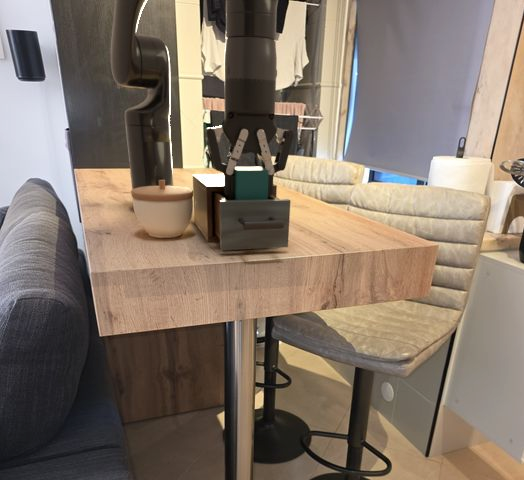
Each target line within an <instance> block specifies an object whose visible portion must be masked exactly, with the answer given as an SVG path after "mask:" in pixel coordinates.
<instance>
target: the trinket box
mask: <svg viewBox="0 0 524 480" xmlns="http://www.w3.org/2000/svg"><path fill="white" fill-rule="evenodd" d="M130 194H131V198H132V207H133V206H134V208H133V211H134V215H135V217H136V220H137V222H138V224H139V226H140V227H141V228H142V229H143V230H144V231H145V232H147V233H148V236H149V237H152V238H156V239H157V238H158V239H171V238H177V237H180V236H182V235H183V232H184V231H186V229H187V228H188V227H189V226H190V223H191V221H192V217H193V212H194V197H193V188H192V189H191V188H189V187H186V186H177V185H173V186H165V180H159V186H145V187H138V188H135V189H132V188H131V190H130Z"/></svg>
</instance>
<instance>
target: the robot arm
mask: <svg viewBox="0 0 524 480" xmlns="http://www.w3.org/2000/svg"><path fill="white" fill-rule="evenodd" d="M147 1H148V0H114V9H113V10H114V11H113V20H112V29H111V38H110V39H111V41H110V70H111V74H112V77H113V80H114V81H115V83H116V84H117V85H118V86H120V87H122V88H129V89H144V90H145V89H146V90H147V96H146V97H145V99H144V100H143V101H142V102H140V103H138V104H137V105H135V106H132V107H129V108H127V109H125V111H124V124H125V134H126V142H127V143H126V144H127V152H128V161H129V172H130V182H131V183H130V184H131V190H132V189H135V188H138V187H145V186H159V180H165V186H174V173H173V156H172V154H173V153H172V141H171V140H172V139H171V126H170V125H171V124H170V121H171V120H170V118H171V117H170V115H171V63H170V55H169V50H168V47H167V45H166V42H165V41H164V39H163V38H161V37H159V36H154V35H148V34H139V33H137V30H138V24H139V20H140V17H141V14H142V11H143V9H144V7H145V5H146V3H147ZM278 3H279V0H225V47H224V48H225V49H224V58H223V59H224V60H223V63H224V65H223V69H224V72H223V74H224V75H223V76H224V118H223V120H222V122H221V125H219V126H215V127H214V126H213V127H206V128H205V129H204V132H203V134H204V137H205V142H206V146H207V150H208V156H209V159H210V160H209V161H210V163H211V167H212V169H214V170H215V171H217V172H220V173H222V174H224V193H225V195H226V196H228V199H229V200H235V176H234V175H233V173H234V170H235V167H237V163H238V161H239V160H240V158H241V155H242V154H244V155H245V154H250V153H252V154H255V155H257V158H258V159H259V162H260V165H261V168H264V169H266V170H269V174H268V199H269V196H271V195H272V193H273V184H274V176H275V174H276V173H278V172H282V171H284V170H285V169H286V167H287V163H288V159H289V154H290V151H291V147H292V143H293V138H294V131H293V130H291V129H283V128H281V127H278V126H277V123H276V120H275V115H276V114H275V112H276V91H277V90H276V89H277V77H278V69H277V65H278V64H277V63H278V62H277V45H276V44H277V42H276V40H277V16H278V14H277V13H278V11H277V9H278ZM222 134H223V135H224V137H225V138H226V140H227V142H228V143H229V147H228V150H227V153H226V159H225V161H224V163H223V162H222V158H221V154H220V150H219V144H218V143H220V142H221V139H222V138H221V136H222ZM275 136H276V142H277V143H278V145H277V150H276V154H275V156H274V157H275V158H274V161H272V154H271V151H270V147H269V145H270V143H271V141H272V140H273V139H274V137H275ZM132 207H133V209H134V206H133V205H132Z"/></svg>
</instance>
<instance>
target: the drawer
mask: <svg viewBox="0 0 524 480" xmlns="http://www.w3.org/2000/svg"><path fill="white" fill-rule="evenodd" d="M290 215H291V200H290V199H289V198H279V197H278V196H276V197H275V196H273V195H271V196H269V199H265V200H229V199H228V196H226V195H225V193H224V192H212V227H213V231H214V233H215V234H216V235H217V236H218V238H219V239H220V241H219V249H220V250H221V251H233V250H235V251H236V250H252V249H253V250H254V249H275V248H277V249H279V248H288V247H289V236H290V234H289V233H290V218H291V217H290Z"/></svg>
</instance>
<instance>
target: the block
mask: <svg viewBox="0 0 524 480" xmlns="http://www.w3.org/2000/svg"><path fill="white" fill-rule="evenodd" d="M268 174H269V170H266V169H264V168H262V166H236V167H235V170H234V173H233V175H234V176H235V200H265V199H268Z"/></svg>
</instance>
